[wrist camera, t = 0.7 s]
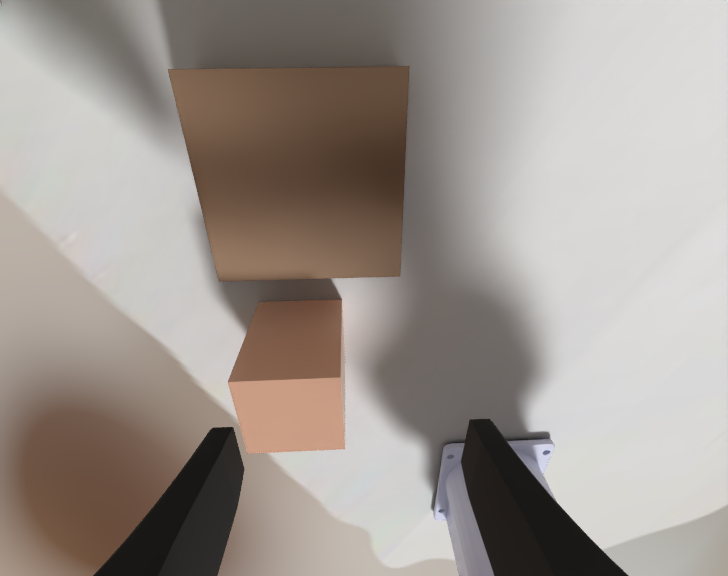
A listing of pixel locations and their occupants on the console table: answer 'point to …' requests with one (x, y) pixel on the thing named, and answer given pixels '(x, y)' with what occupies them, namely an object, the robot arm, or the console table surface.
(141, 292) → the console table surface
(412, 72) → the console table surface
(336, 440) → the cube
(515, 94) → the console table surface
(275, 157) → the walnut block
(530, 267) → the console table surface
